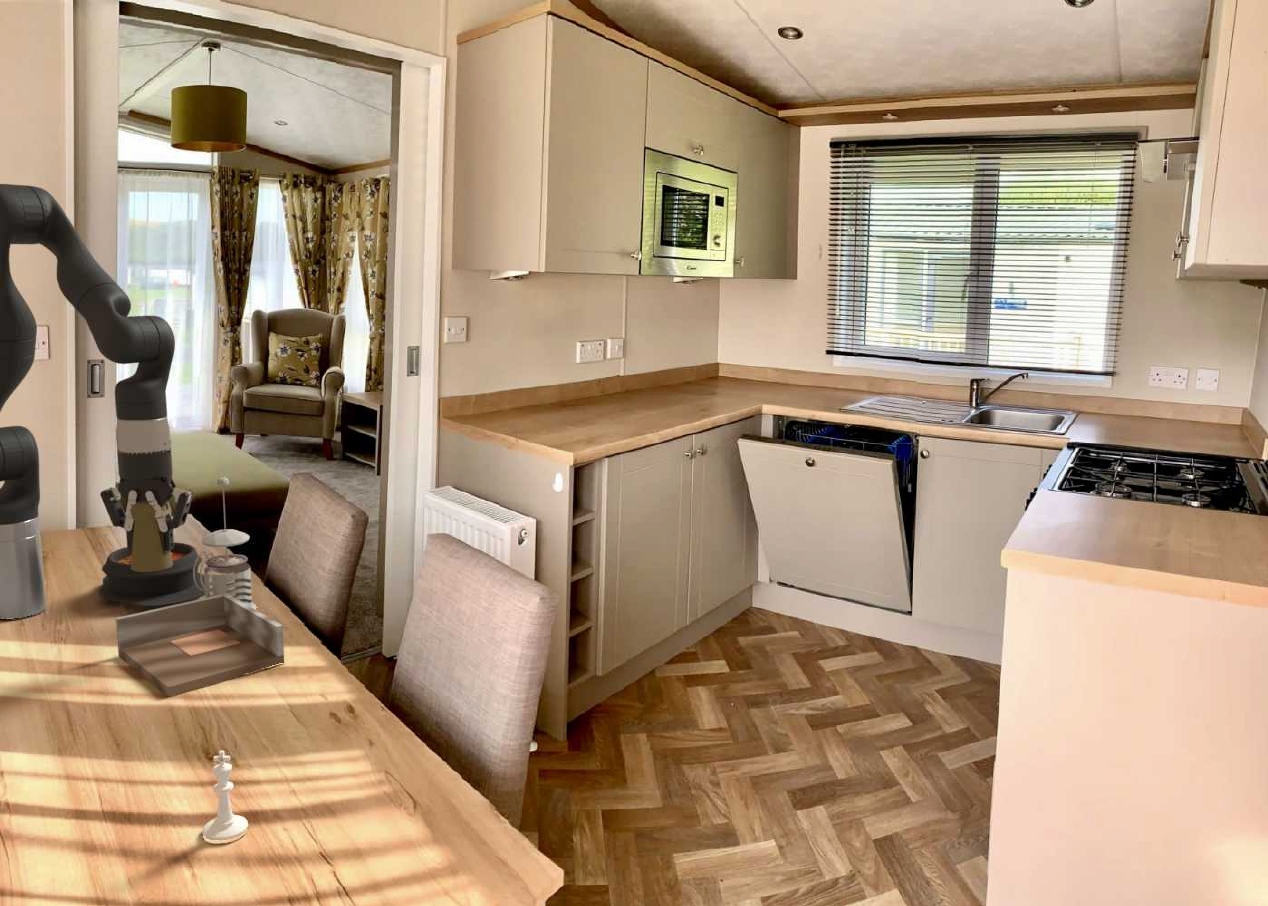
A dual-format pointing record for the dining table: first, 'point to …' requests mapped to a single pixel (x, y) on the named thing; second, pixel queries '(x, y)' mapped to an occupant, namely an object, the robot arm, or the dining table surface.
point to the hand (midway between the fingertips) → (151, 552)
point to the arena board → (199, 643)
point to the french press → (226, 564)
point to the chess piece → (224, 806)
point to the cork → (147, 540)
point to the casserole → (153, 579)
